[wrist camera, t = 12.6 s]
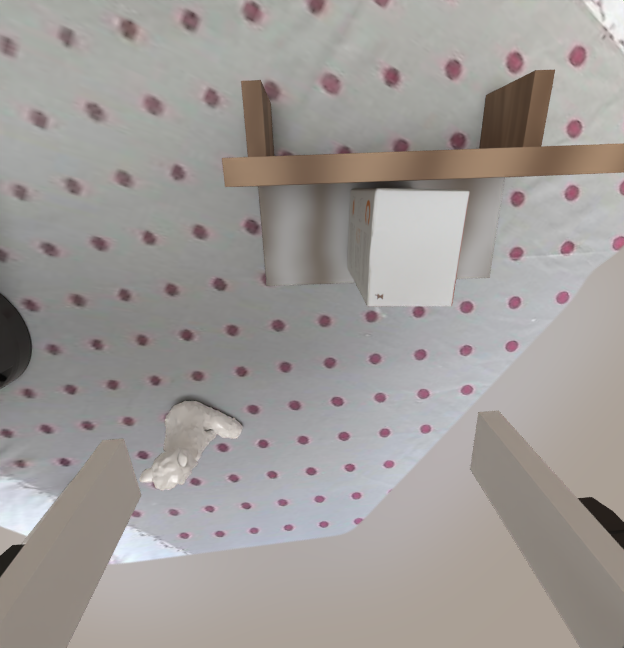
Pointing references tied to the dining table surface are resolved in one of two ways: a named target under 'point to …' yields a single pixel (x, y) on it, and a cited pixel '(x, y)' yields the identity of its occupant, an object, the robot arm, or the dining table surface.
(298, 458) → the dining table surface
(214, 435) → the sitting furry creature
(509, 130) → the wall board
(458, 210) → the small box
